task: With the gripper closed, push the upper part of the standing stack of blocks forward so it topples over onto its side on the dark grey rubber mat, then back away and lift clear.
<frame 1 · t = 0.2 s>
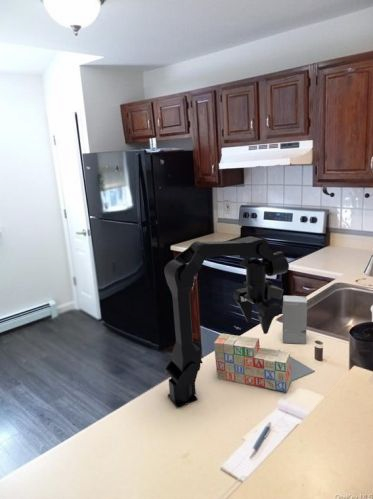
hand: (257, 327, 115), 14 cm above the counter, tool pointing down, fingers open, 9 cm apart
stack of blocks: (253, 379, 112), on the counter, touching mat
skincare box: (294, 339, 135), on the counter
mat: (279, 367, 118), on the counter
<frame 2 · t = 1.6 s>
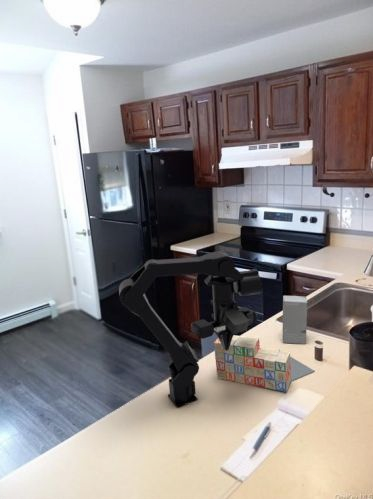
hand: (226, 349, 106), 13 cm above the counter, tool pointing down, fingers closed
nothing on the counter moved.
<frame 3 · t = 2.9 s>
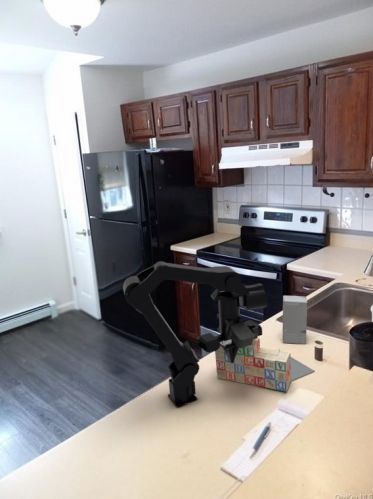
hand: (231, 362, 107), 8 cm above the counter, tool pointing down, fingers closed
stack of blocks: (253, 379, 112), on the counter, touching gripper, mat
everything else where it was.
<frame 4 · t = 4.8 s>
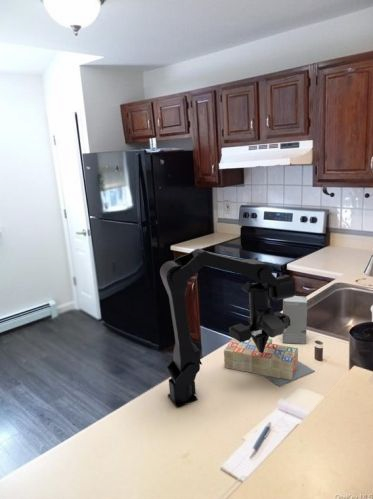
hand: (261, 352, 112), 8 cm above the counter, tool pointing down, fingers closed
stack of blocks: (255, 365, 114), point 3 cm above the counter, touching mat
everything else where it was.
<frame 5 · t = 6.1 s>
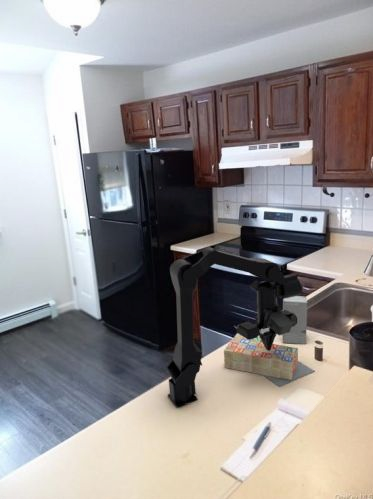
hand: (268, 349, 113), 8 cm above the counter, tool pointing down, fingers closed
nothing on the counter moved.
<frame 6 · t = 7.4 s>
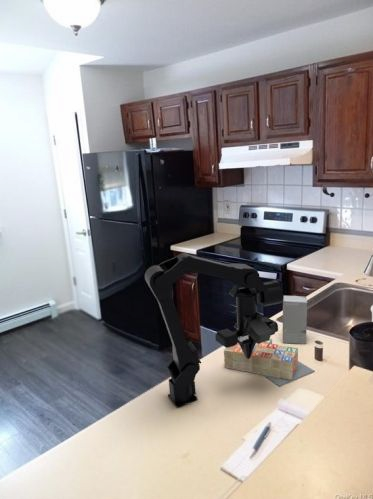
hand: (247, 358, 110), 8 cm above the counter, tool pointing down, fingers closed
nothing on the counter moved.
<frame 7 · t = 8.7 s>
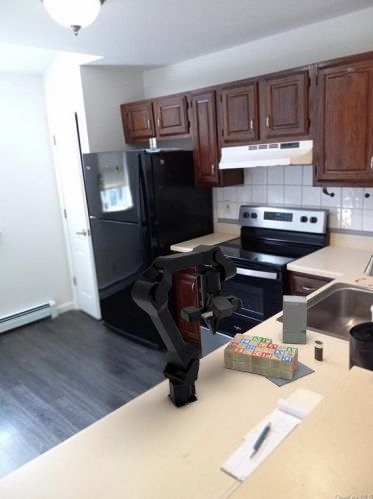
hand: (213, 334, 115), 13 cm above the counter, tool pointing down, fingers closed
nothing on the counter moved.
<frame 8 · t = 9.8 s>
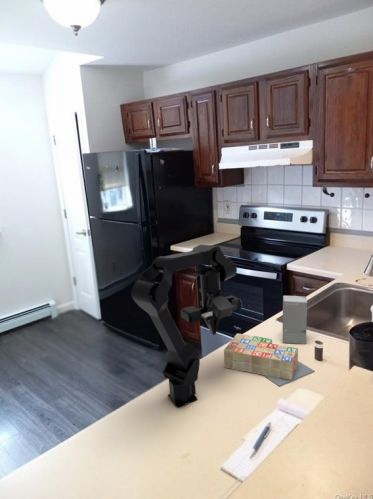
hand: (213, 334, 115), 13 cm above the counter, tool pointing down, fingers closed
nothing on the counter moved.
at the end: stack of blocks tilted 89°; stack of blocks inside the target area (7.7 cm from its centre), point 3.3 cm above the counter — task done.
